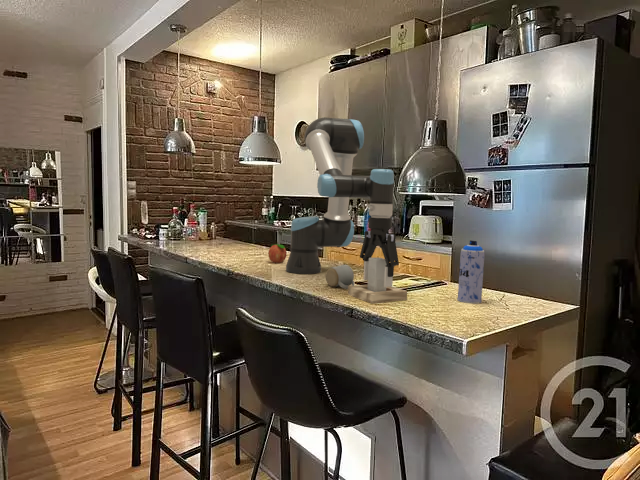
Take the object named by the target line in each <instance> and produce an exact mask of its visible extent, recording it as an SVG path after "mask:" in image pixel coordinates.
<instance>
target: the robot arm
mask: <svg viewBox="0 0 640 480" xmlns="http://www.w3.org/2000/svg"><path fill="white" fill-rule="evenodd" d="M363 127H364V126H363V124H362V123H361V122H360V120H358V119H357V120H356V119H351V118H341V117H340V118H338V117H337V118H335V117H319V118H317V119H315V120H313V121H311V123H310V124H309V125H308V126H307V127H306V129H305V131H304V137H303V138H304V142H305V147H306V148H307V149H308V150H309V151H310V152H311V154H312V158H313V160H314V162H315V165H316V168H317V172H318V173H319V176H318V178H317V184H316V185H317V186H316V188H317V192H318V195H319V196H321V197H328V204H327V212H325V213H324V214H323V219H320V218H319V216H316V215H315V216H303V217H296V218H294V219H292V221H291V225H290V253H289V255H288V259H287V261H286V265H285V271H286V272H287V273H292V274H297V275H298V274H302V275H303V274H304V275H311V274H319V273H321V272H322V264H321V261H320V257H319V252H318V250H319V249H318V248H319V247H320V248H326V247H328V248H334V247H335V248H342V247H348V246H349V245H350V244H351V243H352V240H353V238H354V234H355V224H354V222H353V220H351V218H352V217H351V216H350V215H349V213H348V212H349V202H350V198H356V199H358V198H359V199H369V208H368V209H369V211H368V213H369V216H370V217H369V218H368V229H371V230H366V231H364V239H363V242H362V247H361V251H360V253H359V254H360V255H359V258H360V259H362V260H363V281H368V265H369V258H373V255H374V253H375V250H376V249H377V247H378V246H379V248H380V249H381V251H382V255H383V257H384V258H383V259H385V261H386V264H387V265H386V266H385V277H384V287H393V279H394V271H395V267H396V266H399V264H400V262H399V256H398V250H397V244H396V239H397V237H396V234H390V230H391V229H392V225H393V219H392V216H393V207H394V206H393V205H394V203H393V201H394V200H393V199H394V186H395V185H394V184H395V180H394V179H395V177H394V176H395V175H394V171H393V170H392V169H388V168H387V169H386V168H374V169H372V170H371V171H370V175H352V173H353V164H354V163H353V162H354V158H355V157H356V156H357V155H358V153H359V152H358V151H359V150H361V149H362V148H363V147H364V145H365V144H364V143H365V132H364V128H363Z"/></svg>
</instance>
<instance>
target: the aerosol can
mask: <svg viewBox="0 0 640 480" xmlns="http://www.w3.org/2000/svg"><path fill="white" fill-rule="evenodd" d="M459 255H460V260H459V275H458V277H459V278H458V289H457V298H456V300H457V301H458V302H460V303H465V304H473V305H474V304H481V303H482V302H483V300H482V297H483V295H482V293H483V282H484V281H483V279H484V266H485V250H484V249H483V247H482V246H480V245H479V244H478V241H477V240H469V243H468V244H467V245H464V246H463V248H461V251H460V254H459Z"/></svg>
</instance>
